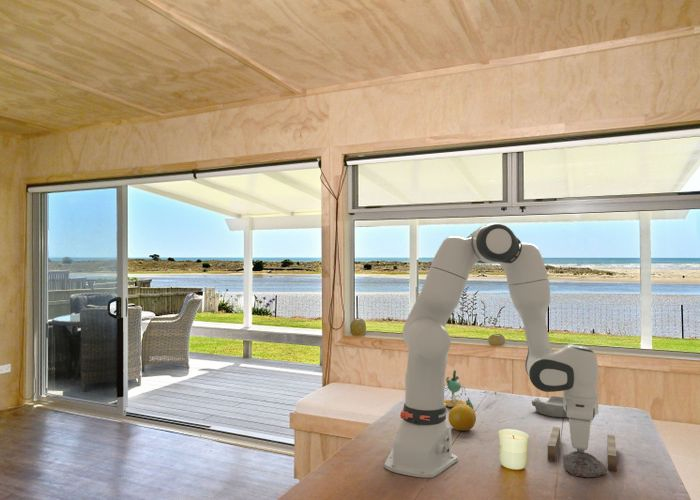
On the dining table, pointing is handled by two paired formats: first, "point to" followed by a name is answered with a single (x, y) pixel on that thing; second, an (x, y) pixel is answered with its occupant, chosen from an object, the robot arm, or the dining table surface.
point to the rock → (583, 465)
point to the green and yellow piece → (454, 387)
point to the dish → (550, 406)
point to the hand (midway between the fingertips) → (580, 455)
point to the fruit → (462, 417)
